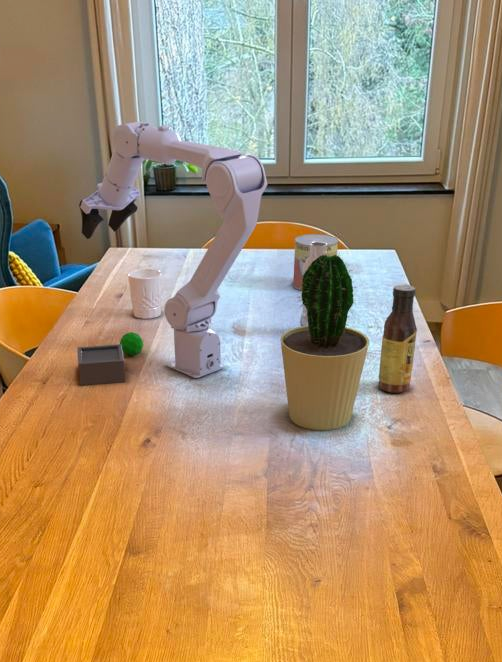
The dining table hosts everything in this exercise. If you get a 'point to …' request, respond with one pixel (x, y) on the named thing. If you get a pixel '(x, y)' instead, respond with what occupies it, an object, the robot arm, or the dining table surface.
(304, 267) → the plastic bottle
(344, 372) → the potted cactus
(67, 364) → the dining table surface
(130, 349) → the polyhedron
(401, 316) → the sauce bottle
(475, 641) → the dining table surface
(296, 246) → the canned food
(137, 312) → the white cup
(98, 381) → the grey box
